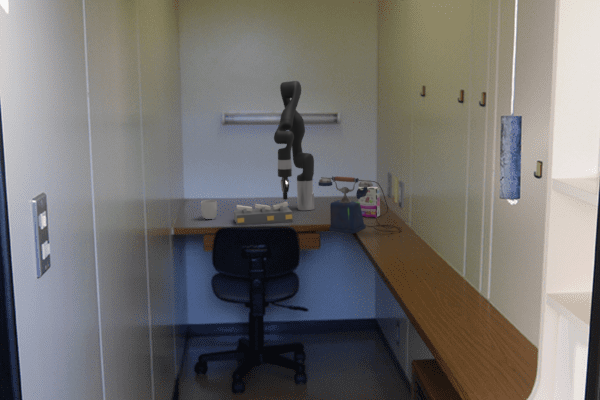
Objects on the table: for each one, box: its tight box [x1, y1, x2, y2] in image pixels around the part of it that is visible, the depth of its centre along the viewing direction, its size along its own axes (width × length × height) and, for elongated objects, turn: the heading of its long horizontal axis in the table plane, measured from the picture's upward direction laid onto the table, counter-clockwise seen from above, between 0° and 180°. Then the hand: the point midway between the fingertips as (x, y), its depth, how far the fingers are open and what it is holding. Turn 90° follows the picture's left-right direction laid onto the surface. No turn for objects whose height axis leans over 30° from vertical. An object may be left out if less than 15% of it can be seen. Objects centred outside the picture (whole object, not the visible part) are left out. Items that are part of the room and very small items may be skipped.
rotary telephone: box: [317, 176, 402, 234], centre depth 321 cm, size 41×22×27 cm, turn 59°
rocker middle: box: [254, 203, 272, 210], centre depth 345 cm, size 8×4×2 cm, turn 103°
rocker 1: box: [236, 204, 253, 211], centre depth 343 cm, size 8×4×2 cm, turn 103°
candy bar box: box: [357, 186, 381, 219], centre depth 350 cm, size 11×5×16 cm, turn 62°
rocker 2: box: [272, 201, 289, 210], centre depth 348 cm, size 8×4×2 cm, turn 102°
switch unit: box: [233, 206, 293, 226], centre depth 346 cm, size 30×14×8 cm, turn 102°
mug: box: [200, 199, 218, 219], centre depth 357 cm, size 13×9×10 cm
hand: (285, 199), depth 347 cm, fingers closed
